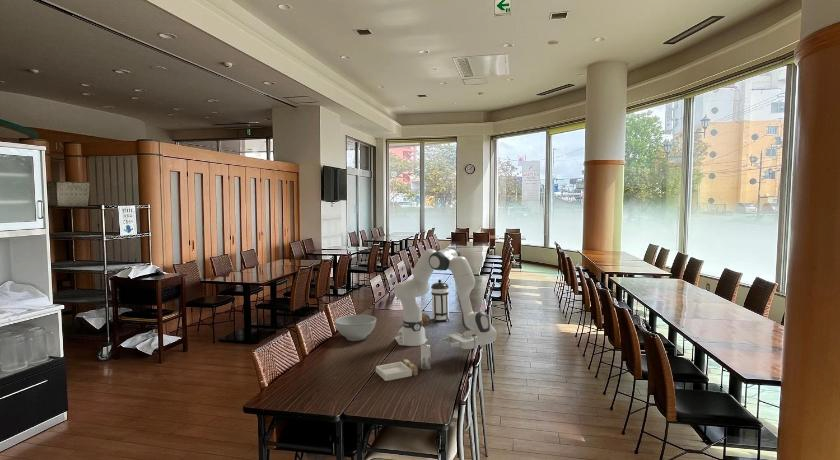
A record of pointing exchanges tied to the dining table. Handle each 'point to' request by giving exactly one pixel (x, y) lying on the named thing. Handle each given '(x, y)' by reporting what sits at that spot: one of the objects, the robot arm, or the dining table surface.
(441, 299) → the coffee press
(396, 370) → the tray
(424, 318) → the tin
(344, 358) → the dining table surface
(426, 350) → the steel canister
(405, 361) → the tan wavy block
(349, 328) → the decorative bowl
